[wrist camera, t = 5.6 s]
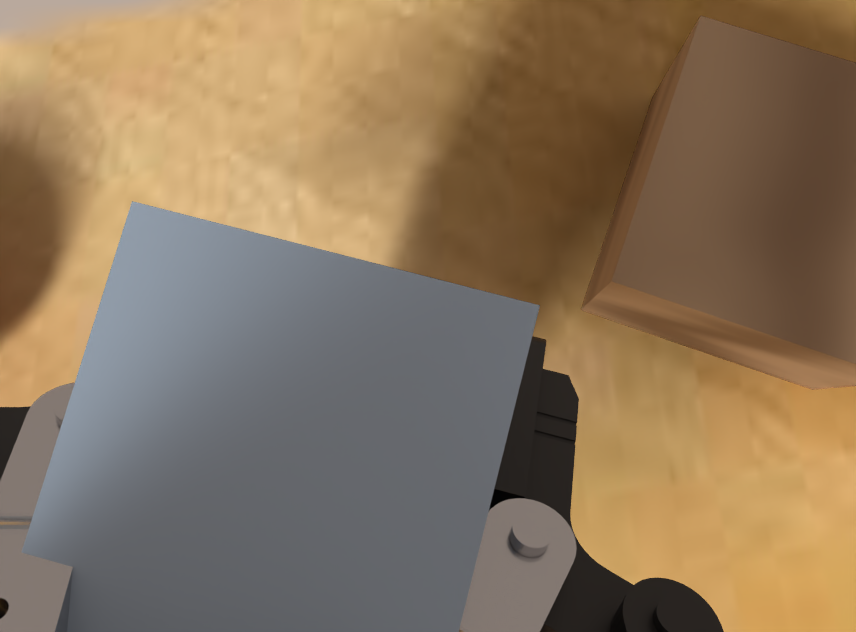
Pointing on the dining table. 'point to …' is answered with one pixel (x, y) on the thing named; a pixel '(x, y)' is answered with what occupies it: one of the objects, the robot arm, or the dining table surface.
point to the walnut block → (742, 210)
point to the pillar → (277, 438)
